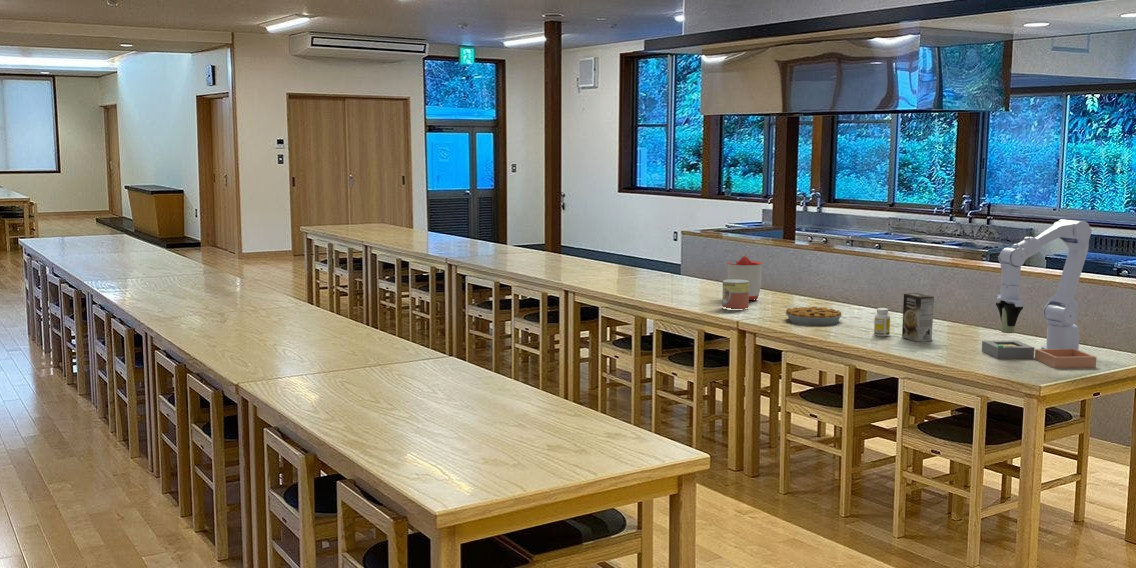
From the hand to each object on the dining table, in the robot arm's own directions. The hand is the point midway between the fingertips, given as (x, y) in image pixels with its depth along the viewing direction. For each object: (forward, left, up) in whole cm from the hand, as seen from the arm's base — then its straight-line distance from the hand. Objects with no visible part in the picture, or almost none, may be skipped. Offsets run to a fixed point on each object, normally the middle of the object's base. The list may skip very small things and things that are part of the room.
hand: (1008, 325), depth 334 cm
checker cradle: (0, 0, -10) cm, 10 cm away
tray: (-12, +14, -10) cm, 21 cm away
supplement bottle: (+30, -36, -10) cm, 48 cm away
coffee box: (+20, -28, -10) cm, 36 cm away
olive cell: (0, 0, -2) cm, 2 cm away
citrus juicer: (+64, -124, -10) cm, 140 cm away
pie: (+47, -67, -10) cm, 82 cm away
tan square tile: (0, 0, -8) cm, 8 cm away
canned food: (+72, -99, -10) cm, 122 cm away
